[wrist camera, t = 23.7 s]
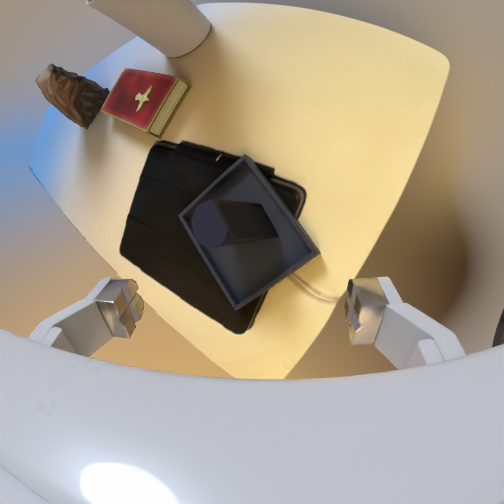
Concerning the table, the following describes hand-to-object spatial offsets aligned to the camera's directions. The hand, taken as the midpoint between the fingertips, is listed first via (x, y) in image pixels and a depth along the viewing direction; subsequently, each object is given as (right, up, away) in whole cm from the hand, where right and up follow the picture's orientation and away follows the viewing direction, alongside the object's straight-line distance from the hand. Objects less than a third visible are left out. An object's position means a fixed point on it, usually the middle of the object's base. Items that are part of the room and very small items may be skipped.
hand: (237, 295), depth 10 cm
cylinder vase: (-14, +48, +34) cm, 61 cm away
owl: (-42, +41, +46) cm, 75 cm away
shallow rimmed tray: (0, +4, +30) cm, 30 cm away
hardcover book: (-22, +33, +38) cm, 55 cm away
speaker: (0, +5, +29) cm, 29 cm away
